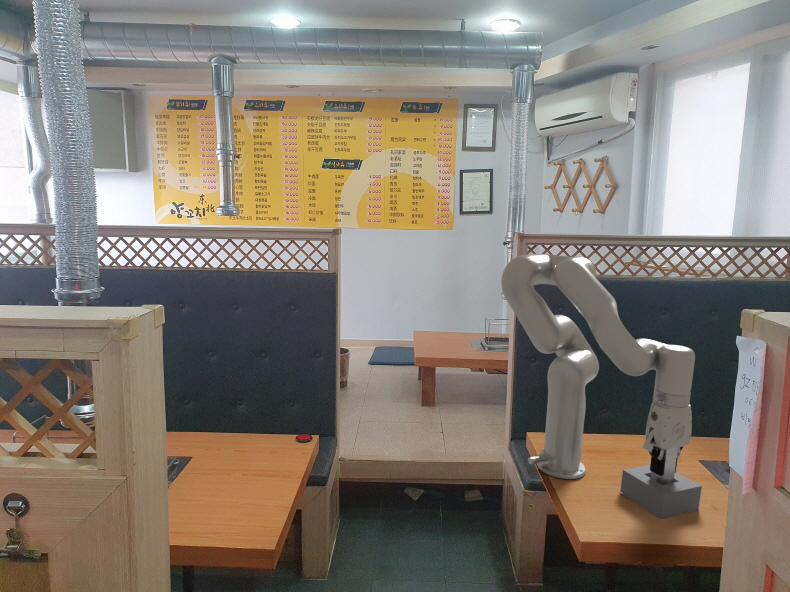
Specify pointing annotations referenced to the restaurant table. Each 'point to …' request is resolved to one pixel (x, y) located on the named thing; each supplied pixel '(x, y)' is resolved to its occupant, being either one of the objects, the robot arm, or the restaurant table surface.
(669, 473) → the steel post
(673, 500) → the well block
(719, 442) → the restaurant table surface
